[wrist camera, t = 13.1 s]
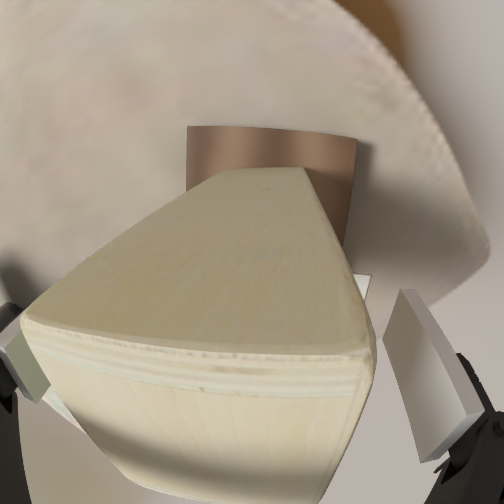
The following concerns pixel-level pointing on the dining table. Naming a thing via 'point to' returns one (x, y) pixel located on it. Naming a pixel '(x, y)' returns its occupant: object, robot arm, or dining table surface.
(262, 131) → the walnut plinth
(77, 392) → the toy refrigerator
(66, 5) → the dining table surface
